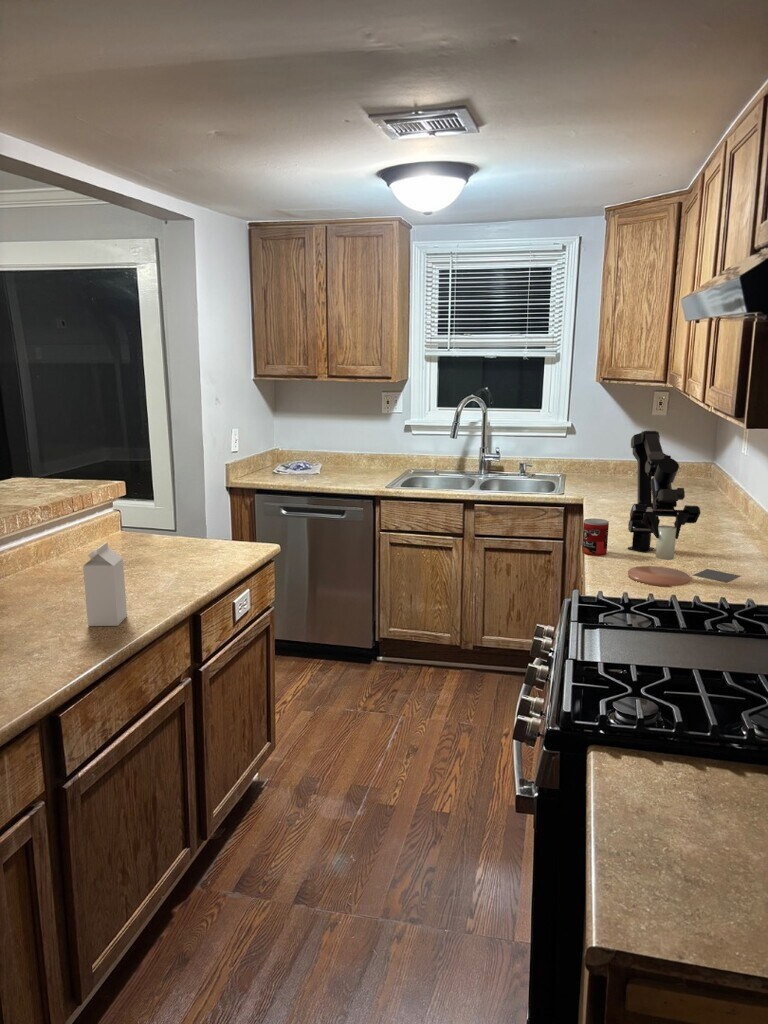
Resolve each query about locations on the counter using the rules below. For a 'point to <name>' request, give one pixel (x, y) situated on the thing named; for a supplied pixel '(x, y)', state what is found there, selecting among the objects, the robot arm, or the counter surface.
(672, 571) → the terracotta plate
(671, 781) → the counter surface
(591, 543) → the canned food
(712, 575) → the rubber mat
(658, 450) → the robot arm
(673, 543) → the sage canister
